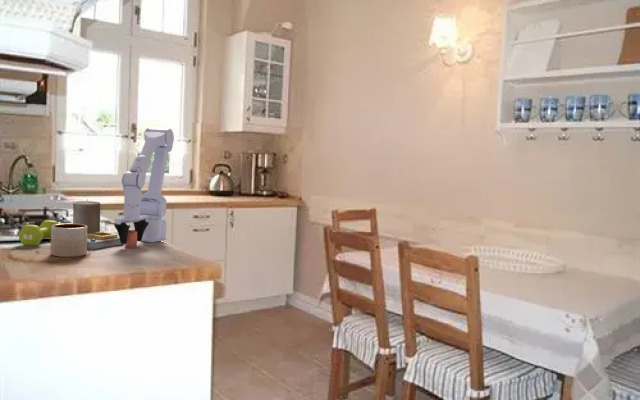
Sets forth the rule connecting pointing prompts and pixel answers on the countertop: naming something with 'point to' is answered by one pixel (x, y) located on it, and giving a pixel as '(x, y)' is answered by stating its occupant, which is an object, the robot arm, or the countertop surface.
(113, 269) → the countertop surface
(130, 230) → the oil can
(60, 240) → the planter
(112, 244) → the grey flat block
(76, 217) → the pillar candle
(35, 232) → the dumbbell
